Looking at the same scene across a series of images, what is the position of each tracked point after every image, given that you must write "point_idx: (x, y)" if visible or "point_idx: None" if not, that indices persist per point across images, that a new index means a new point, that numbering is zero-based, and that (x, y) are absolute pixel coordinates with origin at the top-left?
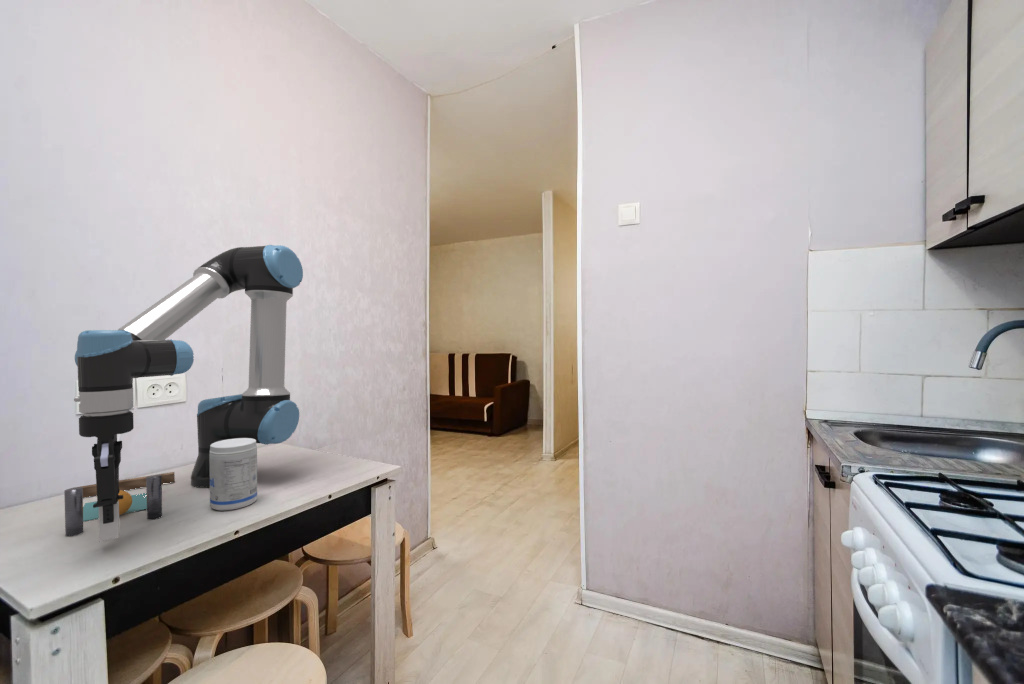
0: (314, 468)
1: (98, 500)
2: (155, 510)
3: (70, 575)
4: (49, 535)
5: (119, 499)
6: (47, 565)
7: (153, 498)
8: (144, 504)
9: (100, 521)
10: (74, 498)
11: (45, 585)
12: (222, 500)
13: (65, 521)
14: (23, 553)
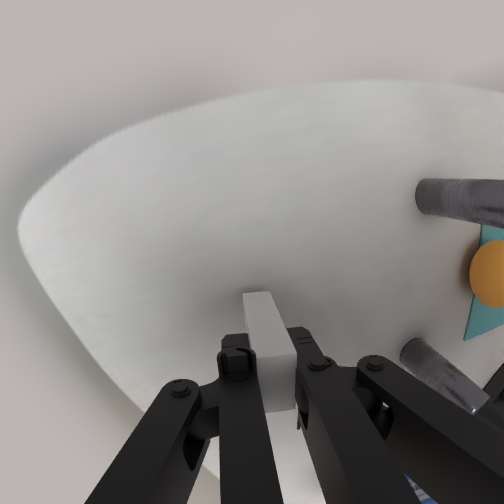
0: None
1: (155, 405)
2: (411, 368)
3: (109, 247)
4: (445, 147)
5: (493, 291)
6: (218, 173)
7: (429, 383)
8: (491, 307)
9: (247, 327)
10: (494, 209)
11: (82, 208)
12: None
13: (449, 179)
14: (358, 105)
